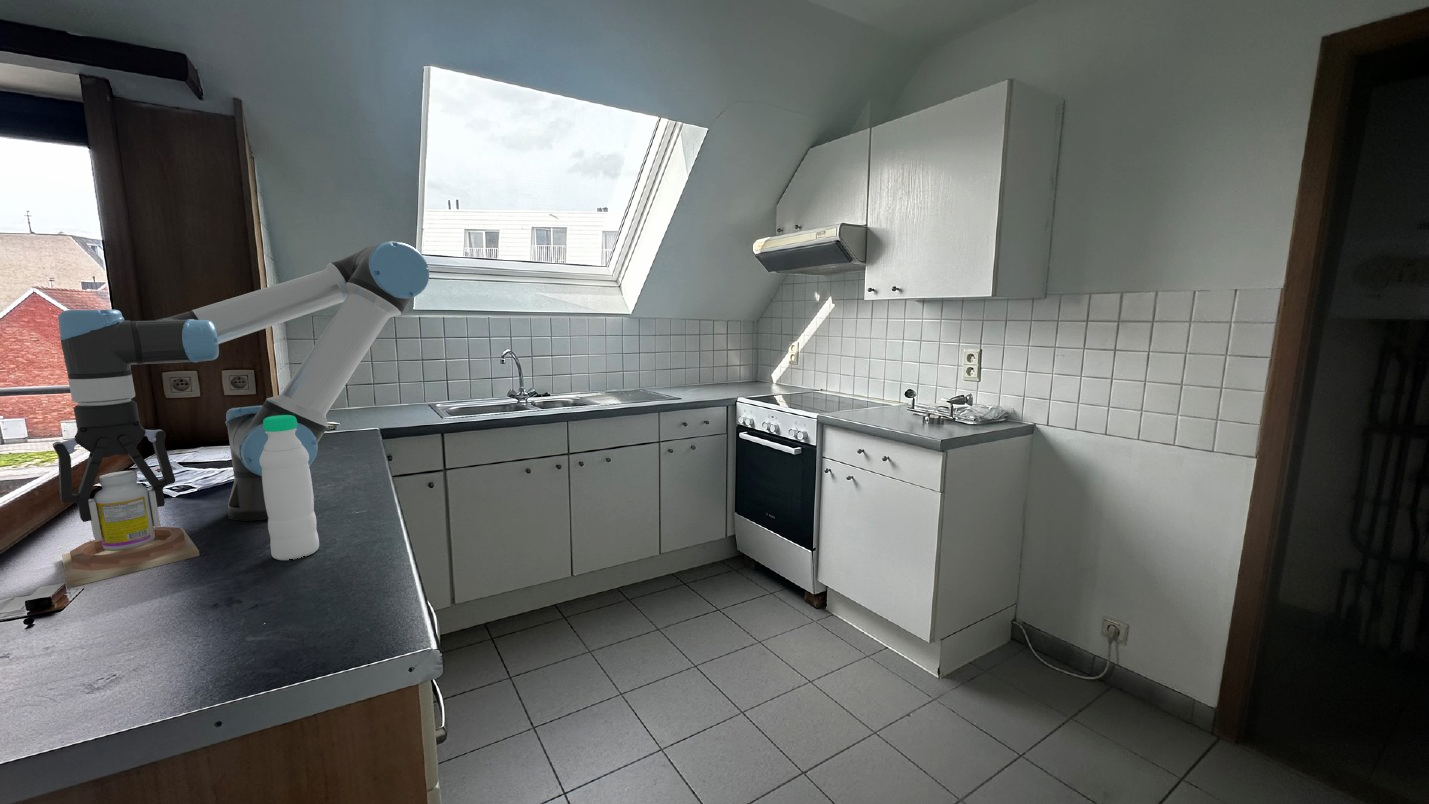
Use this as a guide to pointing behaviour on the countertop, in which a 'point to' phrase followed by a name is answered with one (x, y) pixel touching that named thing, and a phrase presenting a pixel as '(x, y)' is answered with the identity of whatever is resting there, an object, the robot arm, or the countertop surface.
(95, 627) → the countertop surface
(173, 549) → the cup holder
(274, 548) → the water bottle
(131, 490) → the supplement bottle
